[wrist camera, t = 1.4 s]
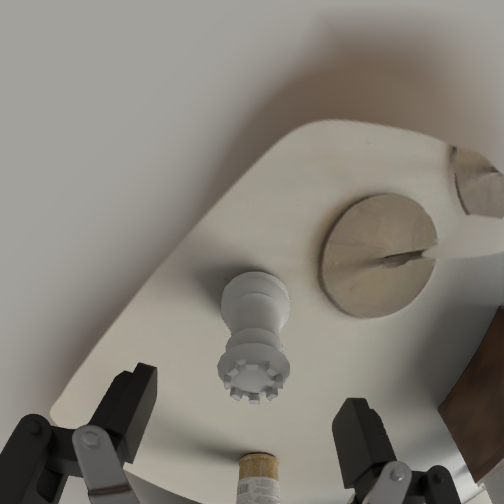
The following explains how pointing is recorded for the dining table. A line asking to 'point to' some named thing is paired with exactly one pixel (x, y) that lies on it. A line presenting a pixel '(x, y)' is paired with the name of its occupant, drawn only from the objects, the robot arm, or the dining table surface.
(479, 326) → the dining table surface
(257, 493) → the sprinkles bottle
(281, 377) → the rook chess piece
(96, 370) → the dining table surface
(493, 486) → the cylinder vase
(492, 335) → the wooden lidded box
